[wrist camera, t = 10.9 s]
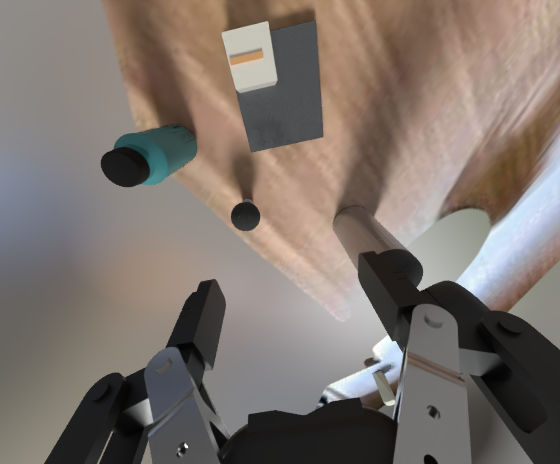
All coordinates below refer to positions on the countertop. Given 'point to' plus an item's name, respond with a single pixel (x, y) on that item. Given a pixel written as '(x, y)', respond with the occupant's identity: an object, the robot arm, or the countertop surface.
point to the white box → (250, 57)
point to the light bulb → (245, 215)
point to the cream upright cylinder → (384, 388)
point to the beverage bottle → (149, 155)
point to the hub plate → (286, 93)
